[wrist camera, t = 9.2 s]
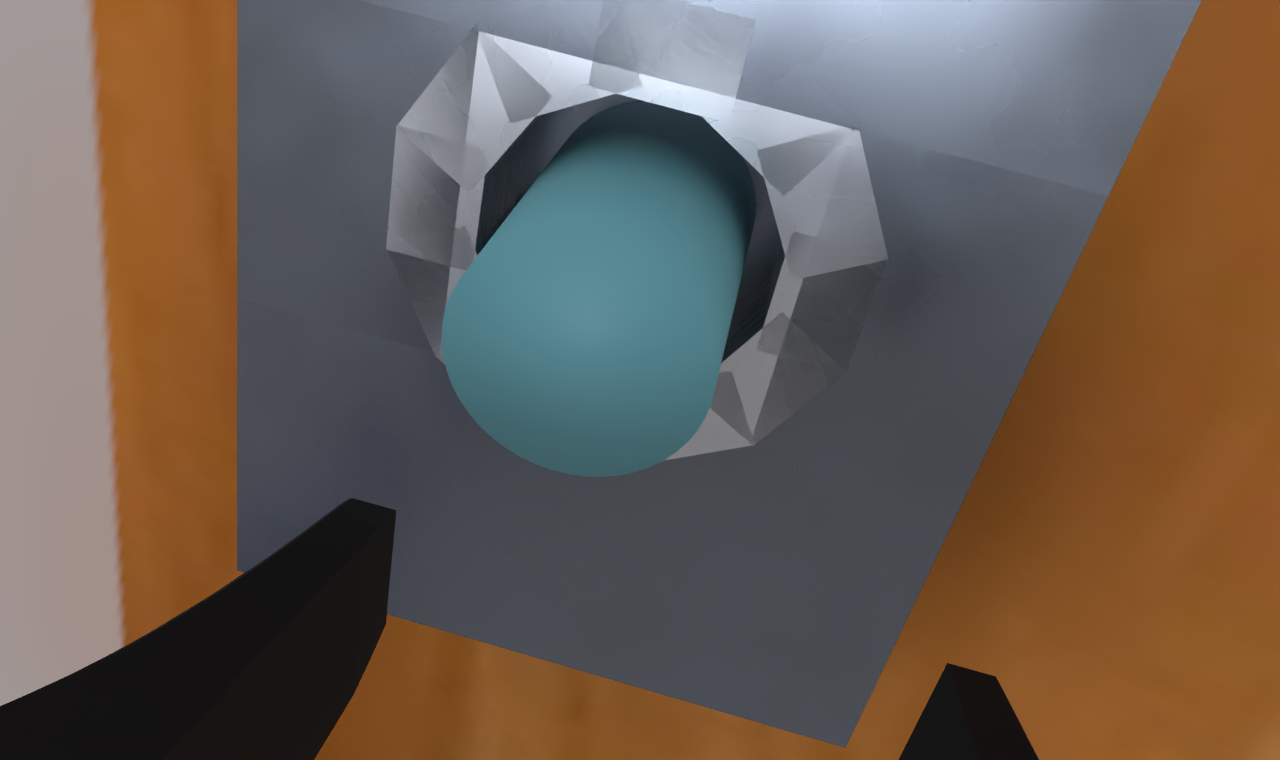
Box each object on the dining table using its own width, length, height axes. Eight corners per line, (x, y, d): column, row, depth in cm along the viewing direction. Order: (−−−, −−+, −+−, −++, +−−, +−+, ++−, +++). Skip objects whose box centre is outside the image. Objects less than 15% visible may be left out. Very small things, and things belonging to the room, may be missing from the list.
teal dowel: (602, 324, 21) (520, 502, 16) (513, 147, 20) (391, 284, 15) (786, 264, 20) (758, 439, 15) (707, 68, 18) (645, 190, 13)
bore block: (846, 649, 25) (845, 747, 22) (298, 492, 26) (237, 570, 23) (1282, -334, 15) (1372, -359, 12) (341, -554, 15) (237, -623, 13)
